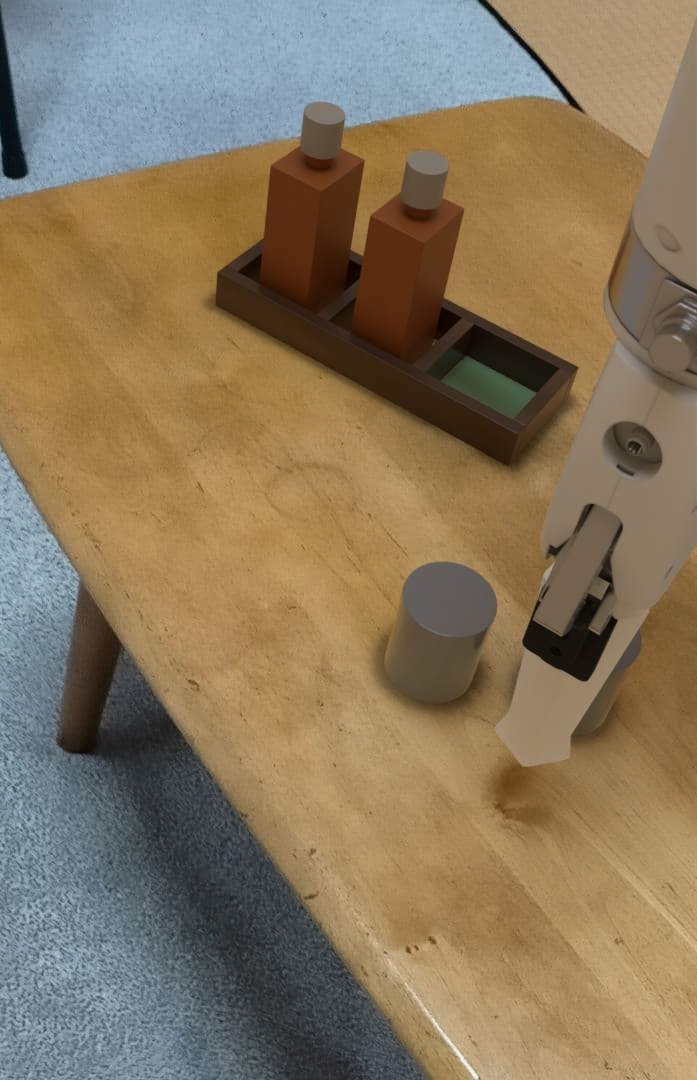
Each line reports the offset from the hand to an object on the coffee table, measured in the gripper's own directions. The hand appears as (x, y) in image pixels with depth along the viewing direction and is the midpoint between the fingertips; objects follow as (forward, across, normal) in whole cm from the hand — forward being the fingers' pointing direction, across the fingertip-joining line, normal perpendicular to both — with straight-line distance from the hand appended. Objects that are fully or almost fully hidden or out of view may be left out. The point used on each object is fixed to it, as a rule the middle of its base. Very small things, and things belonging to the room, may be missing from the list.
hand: (585, 618), depth 54 cm
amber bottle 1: (+14, +24, +31) cm, 42 cm away
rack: (+15, +24, +23) cm, 37 cm away
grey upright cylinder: (+15, +3, +7) cm, 17 cm away
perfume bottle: (+10, 0, 0) cm, 10 cm away
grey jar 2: (+15, +6, 0) cm, 16 cm away
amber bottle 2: (+14, +24, +23) cm, 37 cm away
